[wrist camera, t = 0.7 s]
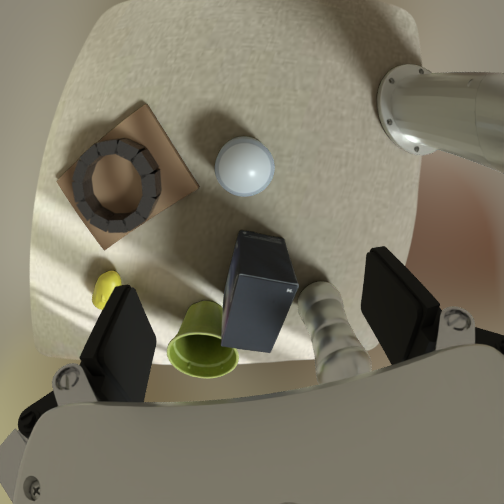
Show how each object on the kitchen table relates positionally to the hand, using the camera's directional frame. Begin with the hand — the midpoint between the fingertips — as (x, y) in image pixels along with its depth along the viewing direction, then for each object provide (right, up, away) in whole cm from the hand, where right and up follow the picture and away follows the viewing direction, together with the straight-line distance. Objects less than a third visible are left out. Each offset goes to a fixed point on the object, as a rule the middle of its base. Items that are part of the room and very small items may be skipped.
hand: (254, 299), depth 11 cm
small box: (0, 0, +27) cm, 27 cm away
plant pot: (-7, -8, +31) cm, 33 cm away
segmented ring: (-16, +11, +20) cm, 28 cm away
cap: (-1, +12, +20) cm, 24 cm away
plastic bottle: (+9, -4, +30) cm, 32 cm away
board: (-16, +11, +20) cm, 28 cm away
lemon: (-21, -3, +27) cm, 35 cm away
